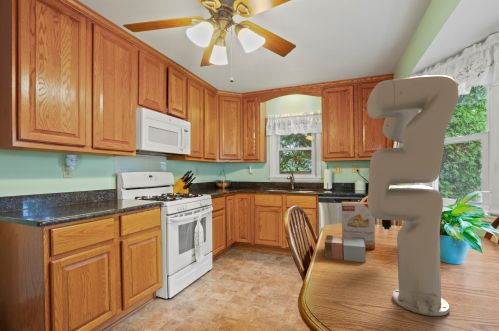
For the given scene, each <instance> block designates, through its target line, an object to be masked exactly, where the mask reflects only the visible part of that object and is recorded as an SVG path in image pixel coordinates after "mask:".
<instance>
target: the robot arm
mask: <svg viewBox="0 0 499 331" xmlns="http://www.w3.org/2000/svg"><path fill="white" fill-rule="evenodd" d="M458 101H459V86H458V83H457V82H456V80H455V79H454V78H453V77H451V76H448V75H441V74H440V75H439V74H437V75H436V74H435V75H433V74H432V75H422V76H421V75H420V76H412V77H402V78H394V79H387V80H382V81H380V82H378V83H377V84H376V85H375V87H373V89H372V90H371V91H370V94H369V96H368V98H367V103H366V112H367V115H368V117H369V118H370V119H384V118H385V119H384V123H383V127H382V133H383V135H384V136H385V137H386V138H387V139H389V140H391V141H393V142H396V143H399V144H402V145H401V146H400V147H387V148H386V147H384V148H380V149H377V150H376V151H374V152H373V153H372V156H371V157H370V161H369V162H370V163H369V170H368V172H369V176H368V191H367V192H368V194H367V202H368V208H369V212H370V214H371V215H372V216H373V217H374V218H375V220H376V219H377V220H381V227H382V228H383V229H384V230H388V231H389V230H391V229H390V228H392V221H403V222H404V221H406V222H405V224H404V223H403V225H402V226H401V227H400V229H399V231H398V233H397V237H396V245H397V249H396V250H397V251H396V252H397V273H398V274H397V277H398V279H397V280H398V281H397V282H398V288H397V289H394V290H393V291H392V296H391V297H392V300H393V301H394V302H395V303H396V304H397V305H398V306H400V307H401V308H403V309H405V310H407V311H410V312H413V313H415V314H419V315H424V316H429V317H430V316H431V317H443V316H446V315H447V314H449V313H450V304H449V303H448V302H447V301H446V300H445V299H443V298H442V280H441V276H442V274H441V273H442V271H441V250H440V249H441V245H440V244H441V243H440V242H441V241H440V238H441V237H440V235H441V234H440V230H441V219H442V216H443V215H442V213H443V208H444V199H443V196H442V194H441V193H440V191H439V190H437V189H435V188H434V187H430V186H428V185H426V186H425V185H416V184H429V183H433V182H435V181H437V179H438V177H439V176H440V173H441V169H442V161H443V154H444V147H445V141H446V140H445V139H446V137H445V136H446V133H447V128H448V125H449V124H450V121H451V119H452V117H453V115H454V113H455V110H456V107H457V104H458ZM396 184H402V185H396ZM403 184H404V185H403ZM406 184H407V185H406ZM408 184H410V185H408ZM411 184H413V185H411ZM414 184H415V185H414Z"/></svg>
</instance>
